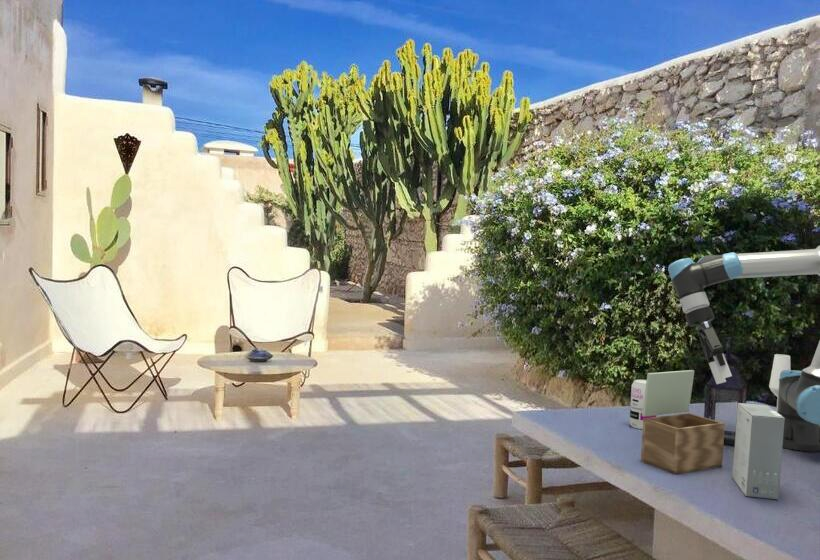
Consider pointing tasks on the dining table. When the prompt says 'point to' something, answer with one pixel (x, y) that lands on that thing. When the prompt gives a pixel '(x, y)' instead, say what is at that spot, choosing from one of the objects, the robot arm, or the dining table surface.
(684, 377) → the lid
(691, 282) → the robot arm
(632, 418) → the supplement can
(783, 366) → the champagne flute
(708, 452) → the crate
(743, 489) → the hard drive box
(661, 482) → the dining table surface
